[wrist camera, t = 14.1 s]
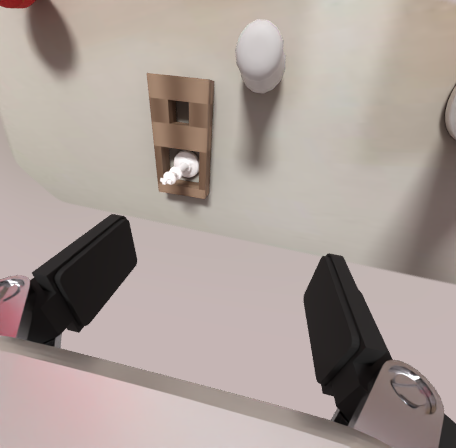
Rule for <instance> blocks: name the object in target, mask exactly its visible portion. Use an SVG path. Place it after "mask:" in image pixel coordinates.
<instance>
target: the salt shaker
mask: <svg viewBox="0 0 456 448" xmlns="http://www.w3.org/2000/svg"><path fill="white" fill-rule="evenodd" d="M283 43H284V41H283V38H282V36H281V33H280V31H279V29H278V28H277V27H276V26H275V25H274V24H273V23H272V22H270V21H269V20H260V19H257V20H255V21H254V22H252V23H250V24H248V25H247V26H246V27H245V29H244V30H243V31H242V33H241V34H240V36H239V39H238V42H237V46H236V50H235V51H236V63H237V66H238V68H239V70H240V72H241V77H242V79H243V81H244V83H245V85H246V87H247V88H249V89H250V90H252V91H253V92H256V93H266V92H268V91H270V90H272V89H274V88H275V86H276V85H277V84H278V83H279V82H280V81H281V79H282V76H283V74H284V71H285V64H286V55H285V53H284V50H283Z"/></svg>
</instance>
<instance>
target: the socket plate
mask: <svg viewBox="0 0 456 448" xmlns="http://www.w3.org/2000/svg"><path fill="white" fill-rule="evenodd" d="M147 81H148V91H149V100H150V110H151V120H152V129H153V139H154V149H155V159H156V168H157V178H158V188H159V191H160V192H166V193H172V194H178V195H184V196H190V197H196V198H202V199H205V198H206V197H207V195H208V194H209V184H210V162H211V140H212V118H213V95H214V81H212V80H208V79H198V78H189V77H179V76H170V75H160V74H151V73H147ZM176 101H184V102H189V123H182V122H177V115H176ZM169 148H175V149H183V150H190V151H197V152H199V183H197V182H190V181H184V180H176V182H175V183H174V184H172V185H170V184H166V185H164V184H162V182H160V178H163V176H164V174H165V173H166V172H169V171H170V157H169Z"/></svg>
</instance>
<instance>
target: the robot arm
mask: <svg viewBox="0 0 456 448" xmlns="http://www.w3.org/2000/svg"><path fill="white" fill-rule="evenodd" d="M445 123H446V128H447V130H448V132H449V134H450V135H451V136H452V137H453V138H454V139H455V140H456V86H455V88H454V89H453V91H452V93H451V96H450V98H449V100H448V103H447V107H446V111H445ZM136 264H137V257H136V252H135V248H134V242H133V237H132V233H131V228H130V223H129V221H128V220H127V219H126V217H124V216H120V215H115V214H112V215H110V216H108V217H107V218H106V219H104V220H103V221H102V222H100V223H99V224H97V225H96V226H95V227H93V228H92V229H91V230H89V231H88V232H87V233H85V234H84V235H83V236H81V237H80V238H78V239H77V240H76V241H74V242H73V243H72V244H70V245H69V246H68V247H66V248H65V249H63V250H62V251H61V252H59V253H58V254H57V255H55V256H54V257H53V258H51V259H50V260H48V261H47V262H46V263H44V264H43V265H42V266H40V267H39V268H38V269H36V270H35V271H34V272H32V274H33V276H34V278H33V279H32V280H30V279H29V278H27V277H25V276H17V275H16V276H10V277H6V278H3V279H0V448H456V424H455V423H454V422H453V421H452V420H451V419H450V418H449V417H448V416H446V415H445V414H444V406H443V404H442V401H441V398H440V396H439V394H438V393H437V391H436V390H435V388H434V387H433V386H432V384H431V383H430V382H429V381H428V380H427V379H426V378H425V377H424V376H423V375H422V374H421V373H420V372H419V371H418V370H416V369H415V368H413V367H411V366H410V365H408V364H406V363H404V362H401V361H398V360H392V358H391V355H390V353H389V351H388V349H387V347H386V345H385V343H384V340H383V338H382V336H381V334H380V332H379V330H378V327H377V325H376V323H375V321H374V319H373V317H372V314H371V313H370V310H369V308H368V306H367V304H366V302H365V299H364V297H363V295H362V293H361V292H360V291H359V290H358V288H357V286H356V284H355V282H354V279H353V277H352V275H351V273H350V271H349V268H348V266H347V264H346V262H345V260H344V258H343V256H339V255H334V254H327V255H326V256H322V258H321V260H320V262H319V264H318V266H317V268H316V270H315V272H314V275H313V277H312V279H311V281H310V283H309V285H308V288H307V290H306V292H305V294H304V307H305V313H306V319H307V325H308V331H309V337H310V343H311V350H312V356H313V362H314V367H315V374H316V379H317V382H318V383H320V384H321V386H322V391H323V394H327V395H331V396H334V398H335V403H336V406H337V410H336V412H335V414H334V415H333V417H332V419H331V421H330V420H327V419H324V418H320V417H317V416H313V415H310V414H306V413H303V412H299V411H296V410H292V409H289V408H285V407H282V406H279V405H275V404H271V403H267V402H264V401H260V400H256V399H252V398H249V397H245V396H241V395H237V394H234V393H230V392H226V391H222V390H218V389H215V388H211V387H207V386H203V385H199V384H196V383H192V382H188V381H184V380H181V379H176V378H173V377H169V376H165V375H162V374H158V373H154V372H150V371H146V370H142V369H138V368H134V367H131V366H127V365H123V364H119V363H115V362H111V361H107V360H104V359H99V358H96V357H92V356H88V355H84V354H80V353H76V352H72V351H68V350H64V349H61V348H60V347H61V335H62V332H63V331H64V330H65V329H66V328H67V329H68V330H71V331H75V332H80V331H81V329H82V328H83V327H84V326H86V325H88V324H89V323H90V322H91V321H92V320H93V319H94V317H95V316H96V315H97V314H98V312H99V311H100V310H101V309H102V307H103V306H104V305H105V303H106V302H107V301H108V300H109V299H110V297H111V296H112V295H113V293H114V292H115V291H116V290H117V289H118V287H119V286H120V285H121V283H122V282H123V281H124V280H125V278H126V277H127V276H128V275H129V273H130V272H131V271H132V270H133V268H134V267H135V266H136Z"/></svg>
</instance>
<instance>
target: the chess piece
mask: <svg viewBox="0 0 456 448" xmlns="http://www.w3.org/2000/svg"><path fill="white" fill-rule="evenodd" d="M198 172H199V159H198V157H197V156H196V155H195V154H194V153H193V152H191V151H188V150H183V151H180V152H179V153H178V154H177V155H176V156H175V158H174V167H172V168H171V169H170V171H169V172H166V173H165V174H164V176H163V178H160V182H162V184H164V185H166V184H170V185H172V184H174V183H175V182H176V180H179V179H180V178H181V177H182V176H183V177H187V178H190V177H193V176H195V175H196V174H197V173H198Z"/></svg>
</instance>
